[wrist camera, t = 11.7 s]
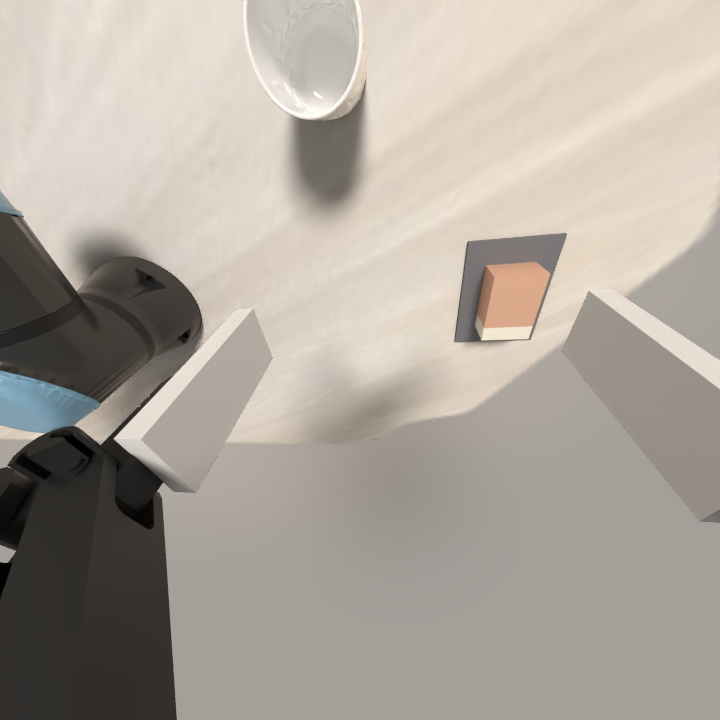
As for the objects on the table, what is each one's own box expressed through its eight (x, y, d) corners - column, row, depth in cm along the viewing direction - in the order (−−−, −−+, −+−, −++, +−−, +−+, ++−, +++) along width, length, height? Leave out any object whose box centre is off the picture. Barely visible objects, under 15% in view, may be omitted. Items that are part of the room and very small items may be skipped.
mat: (454, 340, 42) (455, 342, 42) (467, 241, 33) (468, 242, 33) (529, 338, 41) (530, 339, 40) (565, 233, 31) (567, 233, 31)
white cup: (375, 121, 27) (366, 112, 19) (300, 130, 28) (264, 125, 20) (370, -5, 22) (356, -85, 14) (280, 12, 23) (222, -54, 15)
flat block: (485, 265, 34) (494, 277, 31) (536, 261, 33) (550, 273, 30) (474, 325, 40) (481, 340, 37) (517, 323, 39) (528, 339, 36)
